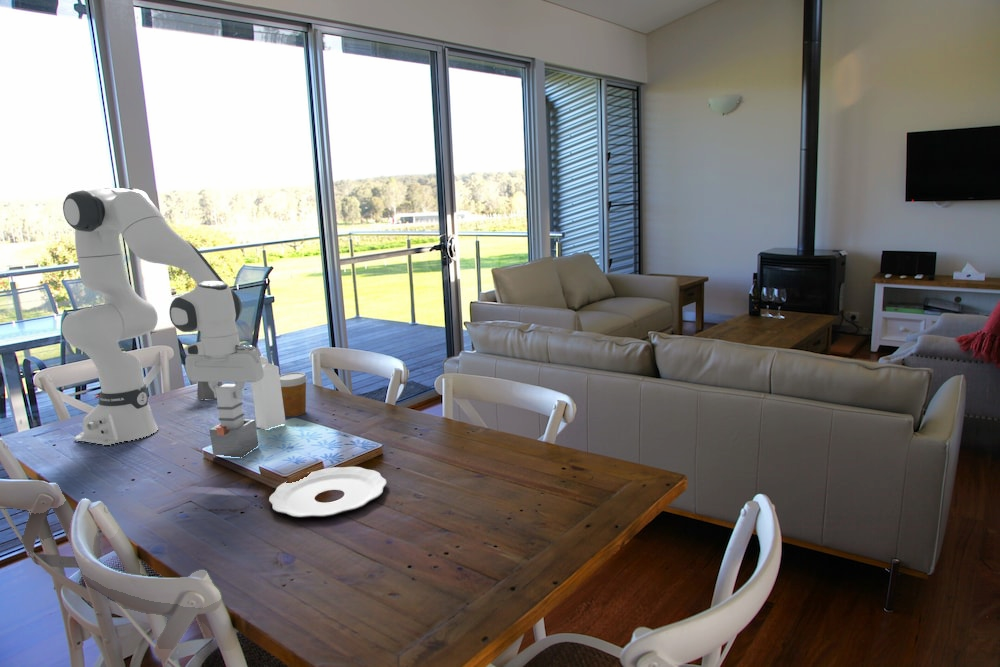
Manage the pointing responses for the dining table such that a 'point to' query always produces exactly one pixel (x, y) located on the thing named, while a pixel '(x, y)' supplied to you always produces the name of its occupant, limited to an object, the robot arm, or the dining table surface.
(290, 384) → the disposable coffee cup
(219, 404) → the column
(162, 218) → the robot arm
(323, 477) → the plate
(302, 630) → the dining table surface
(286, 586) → the dining table surface
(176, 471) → the dining table surface
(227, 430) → the stand
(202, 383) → the coffeepot
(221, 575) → the dining table surface
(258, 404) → the milk
